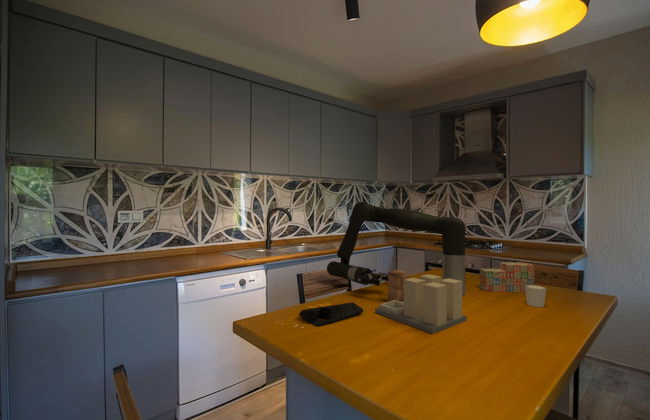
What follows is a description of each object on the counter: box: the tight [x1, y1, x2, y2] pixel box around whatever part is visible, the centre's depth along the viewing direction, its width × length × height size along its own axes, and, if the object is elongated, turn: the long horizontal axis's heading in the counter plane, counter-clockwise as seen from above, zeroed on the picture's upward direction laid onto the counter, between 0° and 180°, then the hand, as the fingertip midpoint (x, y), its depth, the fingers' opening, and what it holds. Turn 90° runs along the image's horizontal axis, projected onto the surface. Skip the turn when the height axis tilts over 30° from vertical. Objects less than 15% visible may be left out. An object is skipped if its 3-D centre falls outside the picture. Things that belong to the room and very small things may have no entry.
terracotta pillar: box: [387, 269, 407, 302], centre depth 129 cm, size 5×5×12 cm
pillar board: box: [374, 274, 467, 335], centre depth 112 cm, size 19×24×14 cm
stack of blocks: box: [479, 261, 536, 293], centre depth 147 cm, size 21×6×12 cm, turn 87°
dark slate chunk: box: [298, 302, 364, 327], centre depth 114 cm, size 15×22×5 cm
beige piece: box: [525, 284, 547, 308], centre depth 125 cm, size 7×7×7 cm
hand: (386, 281), depth 134 cm, fingers open, 8 cm apart
